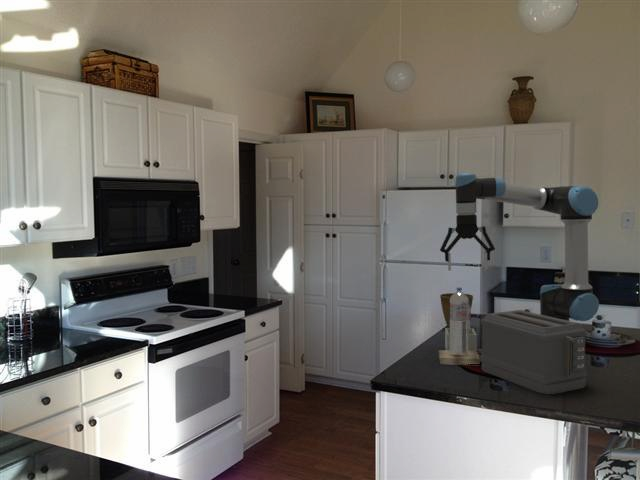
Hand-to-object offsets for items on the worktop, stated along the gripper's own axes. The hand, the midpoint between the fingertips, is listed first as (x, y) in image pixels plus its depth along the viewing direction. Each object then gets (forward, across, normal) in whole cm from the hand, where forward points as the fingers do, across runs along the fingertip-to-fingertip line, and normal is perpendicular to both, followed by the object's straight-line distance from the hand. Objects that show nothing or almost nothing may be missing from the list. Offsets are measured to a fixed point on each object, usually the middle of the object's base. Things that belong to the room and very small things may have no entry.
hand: (467, 269), depth 225 cm
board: (+33, +5, +9) cm, 35 cm away
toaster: (+34, -16, +28) cm, 47 cm away
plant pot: (+34, 0, -45) cm, 57 cm away
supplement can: (+34, 0, -25) cm, 42 cm away
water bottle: (+31, +5, +8) cm, 32 cm away
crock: (+33, +3, -5) cm, 34 cm away
